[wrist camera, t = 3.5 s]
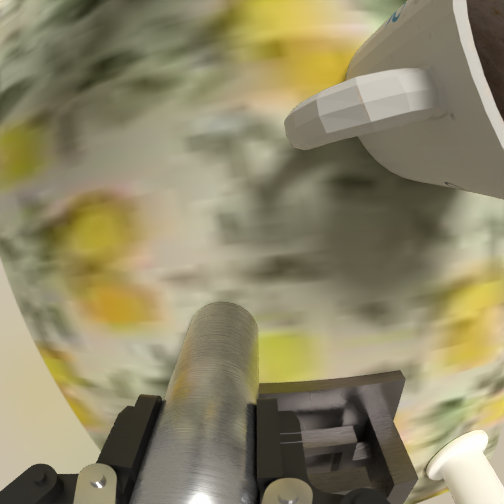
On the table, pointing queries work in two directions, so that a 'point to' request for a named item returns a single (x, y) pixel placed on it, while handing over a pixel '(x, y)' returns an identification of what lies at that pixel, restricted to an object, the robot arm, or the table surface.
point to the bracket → (350, 432)
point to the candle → (467, 470)
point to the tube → (207, 417)
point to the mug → (422, 97)
